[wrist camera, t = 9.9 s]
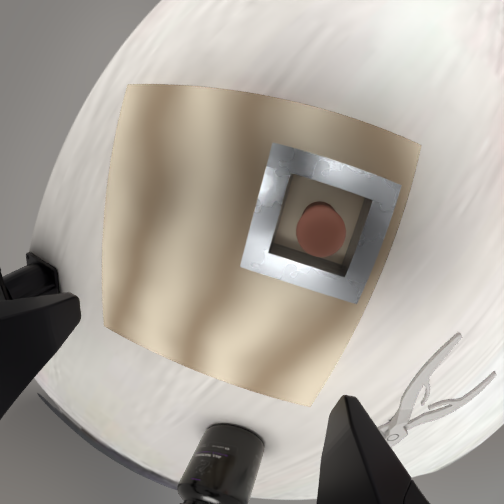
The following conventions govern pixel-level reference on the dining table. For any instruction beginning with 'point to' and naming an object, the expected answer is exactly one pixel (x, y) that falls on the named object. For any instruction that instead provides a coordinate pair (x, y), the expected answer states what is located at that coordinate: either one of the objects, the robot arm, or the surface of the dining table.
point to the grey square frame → (305, 265)
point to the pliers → (400, 420)
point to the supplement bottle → (222, 467)
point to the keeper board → (234, 233)
